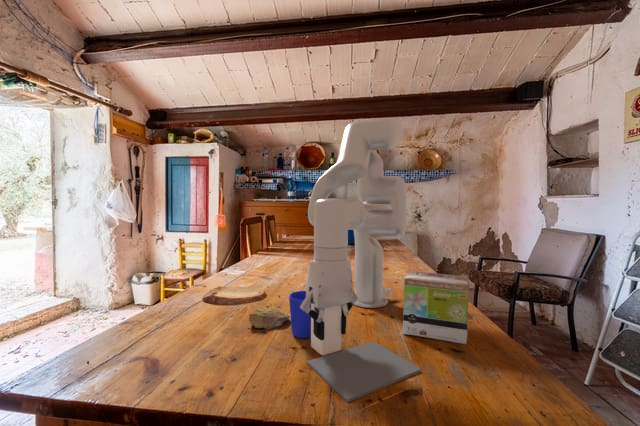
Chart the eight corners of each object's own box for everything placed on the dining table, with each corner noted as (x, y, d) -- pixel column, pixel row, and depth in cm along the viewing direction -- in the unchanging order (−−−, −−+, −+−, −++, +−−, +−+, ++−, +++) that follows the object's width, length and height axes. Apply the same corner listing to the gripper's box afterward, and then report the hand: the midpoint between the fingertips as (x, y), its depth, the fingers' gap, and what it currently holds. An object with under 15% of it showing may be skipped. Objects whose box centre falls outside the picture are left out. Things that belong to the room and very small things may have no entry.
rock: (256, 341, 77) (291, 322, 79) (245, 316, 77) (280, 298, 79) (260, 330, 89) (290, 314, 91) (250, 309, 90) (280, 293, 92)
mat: (373, 343, 71) (373, 341, 71) (420, 372, 59) (420, 369, 59) (306, 364, 61) (306, 361, 61) (347, 402, 49) (347, 399, 49)
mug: (329, 324, 82) (330, 288, 82) (314, 343, 71) (315, 301, 70) (302, 320, 85) (302, 285, 84) (283, 338, 73) (283, 298, 73)
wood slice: (271, 296, 108) (271, 286, 108) (231, 311, 93) (231, 299, 93) (237, 288, 118) (237, 279, 117) (196, 300, 103) (196, 290, 102)
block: (328, 341, 72) (329, 290, 71) (341, 350, 67) (341, 296, 67) (310, 346, 69) (311, 293, 69) (322, 356, 65) (322, 299, 64)
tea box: (402, 335, 75) (403, 277, 75) (405, 321, 85) (405, 269, 84) (468, 345, 70) (469, 283, 70) (463, 329, 80) (464, 274, 79)
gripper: (351, 249, 74) (350, 321, 74) (288, 254, 65) (288, 337, 65) (371, 253, 67) (370, 333, 68) (305, 260, 59) (304, 351, 59)
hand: (330, 334), depth 67 cm, fingers closed on block, 5 cm apart
